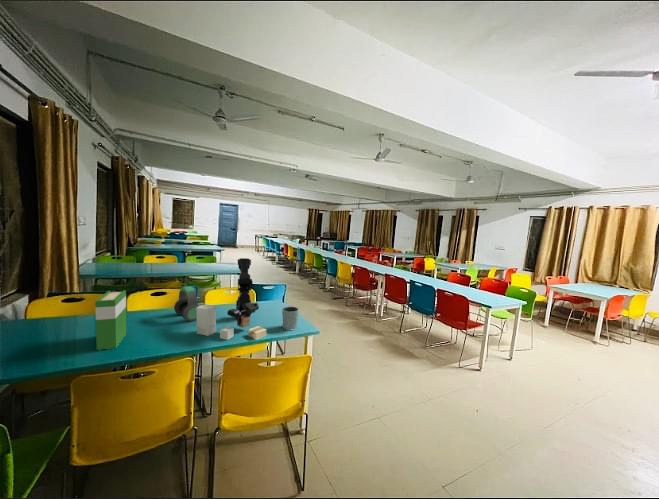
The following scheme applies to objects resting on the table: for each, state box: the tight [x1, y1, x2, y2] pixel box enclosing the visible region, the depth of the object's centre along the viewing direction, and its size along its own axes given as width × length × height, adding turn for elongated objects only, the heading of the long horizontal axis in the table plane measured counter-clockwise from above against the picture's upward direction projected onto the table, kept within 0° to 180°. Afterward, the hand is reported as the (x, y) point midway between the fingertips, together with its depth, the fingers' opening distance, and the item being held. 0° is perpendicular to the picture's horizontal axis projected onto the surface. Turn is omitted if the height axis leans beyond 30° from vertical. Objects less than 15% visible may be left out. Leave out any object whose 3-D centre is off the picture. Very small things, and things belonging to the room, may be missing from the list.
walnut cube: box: [236, 315, 251, 329], centre depth 159 cm, size 5×5×5 cm
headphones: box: [173, 286, 200, 322], centre depth 172 cm, size 19×11×20 cm, turn 48°
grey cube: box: [219, 326, 235, 341], centre depth 149 cm, size 5×5×5 cm
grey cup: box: [281, 306, 299, 331], centre depth 167 cm, size 10×10×12 cm
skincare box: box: [196, 304, 217, 337], centre depth 152 cm, size 8×7×16 cm
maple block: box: [247, 325, 267, 340], centre depth 153 cm, size 7×7×4 cm
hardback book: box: [94, 289, 127, 351], centre depth 135 cm, size 18×7×24 cm, turn 24°
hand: (243, 323), depth 159 cm, fingers closed on walnut cube, 5 cm apart
